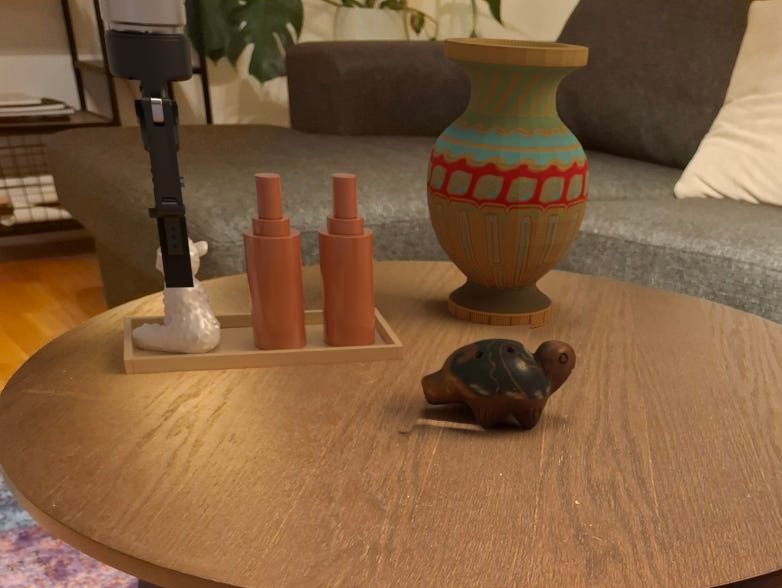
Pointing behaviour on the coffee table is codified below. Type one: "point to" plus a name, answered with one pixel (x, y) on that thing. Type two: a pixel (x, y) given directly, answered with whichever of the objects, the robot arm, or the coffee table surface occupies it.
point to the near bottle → (274, 271)
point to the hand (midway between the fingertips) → (177, 269)
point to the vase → (508, 179)
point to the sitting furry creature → (182, 316)
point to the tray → (242, 353)
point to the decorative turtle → (501, 379)
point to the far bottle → (346, 270)
